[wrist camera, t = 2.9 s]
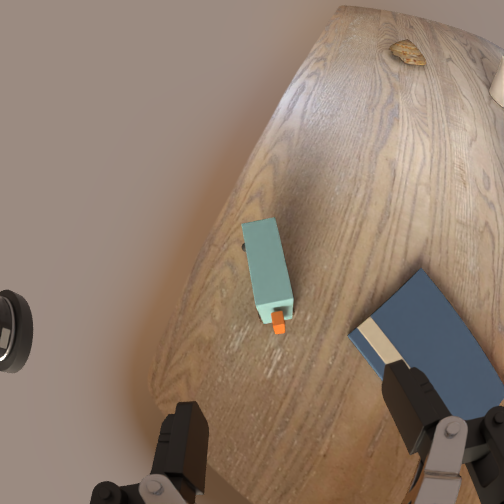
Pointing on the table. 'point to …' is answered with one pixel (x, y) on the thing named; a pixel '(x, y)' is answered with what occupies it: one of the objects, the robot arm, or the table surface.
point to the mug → (498, 85)
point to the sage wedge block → (268, 273)
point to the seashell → (408, 52)
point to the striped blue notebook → (431, 347)
